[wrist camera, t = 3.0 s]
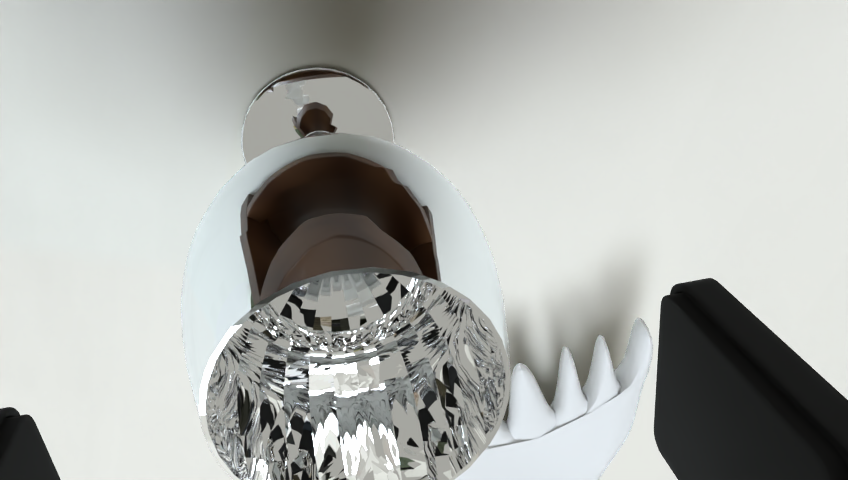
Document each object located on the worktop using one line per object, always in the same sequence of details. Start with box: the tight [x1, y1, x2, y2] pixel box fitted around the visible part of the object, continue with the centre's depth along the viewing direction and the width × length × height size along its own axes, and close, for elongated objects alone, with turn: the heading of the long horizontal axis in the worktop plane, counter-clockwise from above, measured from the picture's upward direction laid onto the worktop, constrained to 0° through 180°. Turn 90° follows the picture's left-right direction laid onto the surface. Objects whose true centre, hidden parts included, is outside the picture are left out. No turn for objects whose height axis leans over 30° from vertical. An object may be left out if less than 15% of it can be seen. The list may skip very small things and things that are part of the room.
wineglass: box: [181, 67, 511, 480], centre depth 16 cm, size 6×6×12 cm
